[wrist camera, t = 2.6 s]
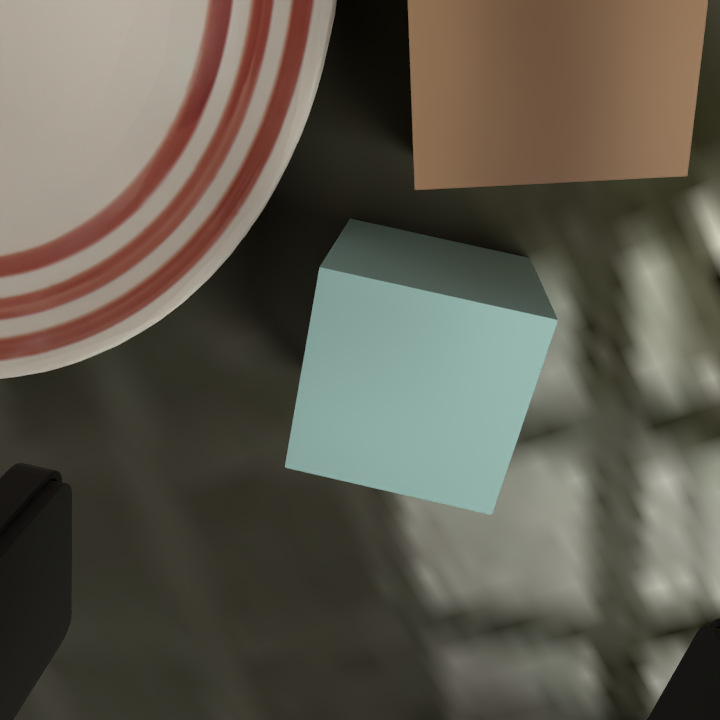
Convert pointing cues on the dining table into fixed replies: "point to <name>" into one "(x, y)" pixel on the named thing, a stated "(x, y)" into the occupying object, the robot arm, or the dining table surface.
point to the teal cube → (419, 365)
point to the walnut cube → (552, 90)
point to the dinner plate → (137, 156)
